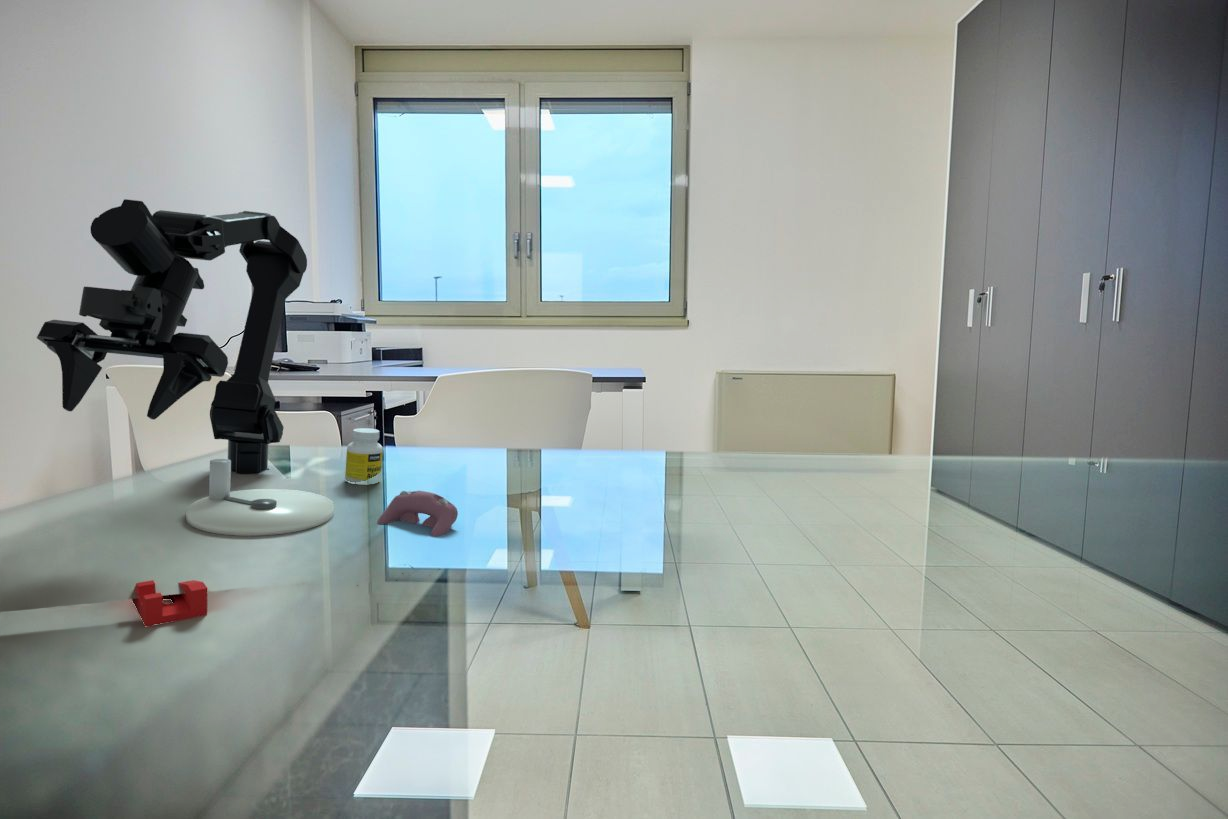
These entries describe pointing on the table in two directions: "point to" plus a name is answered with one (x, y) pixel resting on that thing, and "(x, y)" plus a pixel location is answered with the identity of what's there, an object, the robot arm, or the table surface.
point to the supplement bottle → (363, 455)
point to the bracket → (180, 609)
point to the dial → (255, 508)
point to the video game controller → (421, 511)
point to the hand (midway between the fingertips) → (108, 414)
